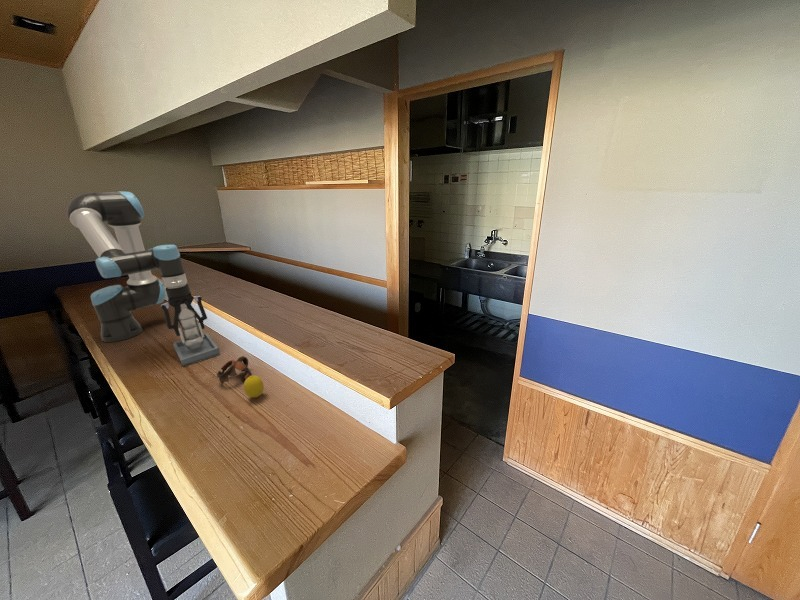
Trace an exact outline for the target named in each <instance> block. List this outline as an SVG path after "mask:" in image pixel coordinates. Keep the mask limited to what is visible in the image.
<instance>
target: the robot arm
mask: <svg viewBox="0 0 800 600" xmlns="http://www.w3.org/2000/svg"><path fill="white" fill-rule="evenodd" d="M66 216H67V219H68V220H69V222H70V224H72V226H73V227H75V228H77V229H79V231H80V233H81V234H82V236H83V237H84V239H85V240H86V241H87V243H88V244H89V245H90V247H91V248H92V250H93V251H94V253H95V254H96V256H97V258H96V259H95V267H96V268H97V271H98V273H99V274H100V276H101V277H102V278H103V279H112V278H120V277H125V276H128V280H127V281H126V284H127V285H126V286H122V285H121V284H114V285H108V286H106V287H103V288H99V289H98V290H95V291H94V292H92V293H91V294H90V300H91V305H92V306H93V307H94V310H95V312H96V315H97V317H98V321H99V322H100V339H101V341H102V342H103V341H104V343H114V342H119V341H120V342H121V341H124V340H128V339H131V338H133V337H135V336H138V335H140V334H141V333H142V332H143V330H144V329H143V328H142V325H141V324H140V323H139V322H138V321H137V319H135V317H134V316H133V313H132V311H135V310H140V309H143V308H148V307H151V306H156V305H158V304H160V308H161V309H162V310H163V313H164V317H165V318H164V319H165V321H166V327H167V328H168V329H169V330H174V332H175V335H176V337H180V341H182V343H185V341H184V334H183V331H182V328H181V325H180V326H179V320H178V314H179V312H180V304H183V303H185V304H186V305H187V306H188V308H189V309H190V310H192V311H194V312H195V315H196V320H197V326H198V329H199V331H200V334H201V336H202V338H203V337H204V335H203V334H204V332H203V330H205V324H204V321H205V320H208V316H207V314H206V311H205V308H204V306H203V303H202V300H203V299H202V296H201V295H197V296H195V295H194V296H193V294H192V292H191V288H190V286H189V284H188V279H187V276H186V272H185V269H184V265H183V262H182V258H181V252H179V248H178V245H175V244H161V245H156V246H154V247H152V248H149V249H147V250H146V249H145V245H144V242H143V238H142V235H141V231H140V227H139V226H140V225H141V224H142V220H141V219H143V218H145V211H144V209H143V206H142V204H141V202H140V201H139V199H138V198H137V196H136V195H135V194H134V193H133V192H131V191H120V190H117V191H101V192H84V193H81V194H78V195H76V196H75V197H74V198H72V199H71V200H70V202H69V203H68V204H67V206H66ZM104 222H106V224H107V225H108V226H109V227H111V228H112V229H113V231H114V232H115V236H116V238H115V237H114V235H112V233H111V231H110V230H109V229H108V228H107V226H106V225H105V223H104ZM116 239H117V240H116ZM158 269H159V273H160V276H161V279H158V277H156V276H155V275H153V274H152V271H155V270H158ZM166 295H167V302H165V303H163V302H164V301H165V299H166ZM193 301H195V302H196V304H197V307H198V309H199V311H200V313H201V316H200V315H199V313H198V312H197V311H196V309H195V308H194V307H193V306H192V303H193ZM170 306H171V307H173V308H174V309H173V310H174V315H173V324H172V322H171V316H170V313H169V310H168V309H169V308H170Z"/></svg>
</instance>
